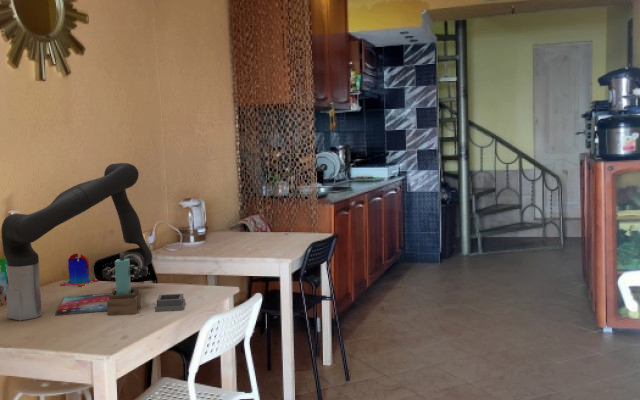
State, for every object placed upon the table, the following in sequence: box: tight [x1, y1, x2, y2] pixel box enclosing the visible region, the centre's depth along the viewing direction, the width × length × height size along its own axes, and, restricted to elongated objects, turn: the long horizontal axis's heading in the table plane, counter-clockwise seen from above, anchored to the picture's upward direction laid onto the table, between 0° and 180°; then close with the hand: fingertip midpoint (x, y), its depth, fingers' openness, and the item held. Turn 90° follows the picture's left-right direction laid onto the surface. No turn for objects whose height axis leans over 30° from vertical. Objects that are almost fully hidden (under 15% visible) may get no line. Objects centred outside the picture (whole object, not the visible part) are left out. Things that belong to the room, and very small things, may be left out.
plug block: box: [114, 252, 132, 295], centre depth 210 cm, size 4×4×14 cm
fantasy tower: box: [59, 253, 100, 288], centre depth 251 cm, size 12×12×12 cm
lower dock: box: [154, 293, 186, 313], centre depth 215 cm, size 9×9×4 cm
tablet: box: [54, 292, 112, 316], centre depth 221 cm, size 19×25×1 cm
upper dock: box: [107, 288, 142, 316], centre depth 211 cm, size 9×9×6 cm
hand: (121, 276), depth 208 cm, fingers open, 8 cm apart
